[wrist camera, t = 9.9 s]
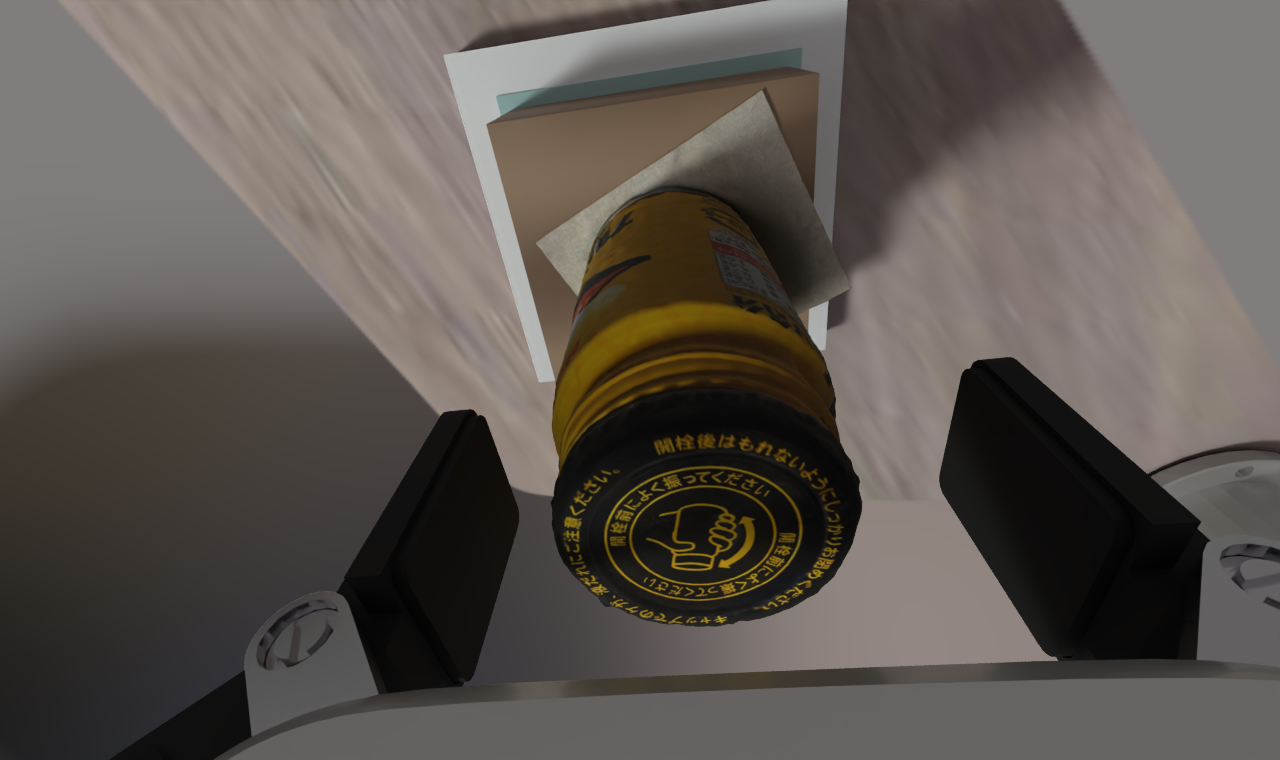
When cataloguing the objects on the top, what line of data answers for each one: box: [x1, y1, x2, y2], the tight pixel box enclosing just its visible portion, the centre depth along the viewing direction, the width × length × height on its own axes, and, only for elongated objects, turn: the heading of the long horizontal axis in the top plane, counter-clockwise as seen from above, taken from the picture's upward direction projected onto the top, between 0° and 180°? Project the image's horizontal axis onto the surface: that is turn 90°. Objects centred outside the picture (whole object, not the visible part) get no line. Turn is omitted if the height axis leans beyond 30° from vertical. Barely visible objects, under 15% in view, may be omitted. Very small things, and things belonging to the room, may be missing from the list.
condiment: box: [536, 90, 862, 627], centre depth 13 cm, size 7×8×12 cm
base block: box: [486, 66, 820, 381], centre depth 20 cm, size 10×10×4 cm
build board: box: [443, 0, 848, 383], centre depth 22 cm, size 14×14×2 cm
